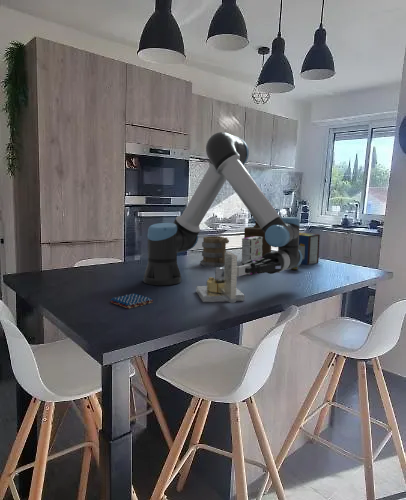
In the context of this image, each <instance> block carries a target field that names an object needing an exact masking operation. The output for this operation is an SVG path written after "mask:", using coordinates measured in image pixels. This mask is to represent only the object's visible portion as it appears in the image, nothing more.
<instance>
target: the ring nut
mask: <svg viewBox="0 0 406 500" xmlns="http://www.w3.org/2000/svg"><path fill="white" fill-rule="evenodd" d="M237 266H238V255H236V254H234V253H233V252H231V251H226V252H225V265H224V268H225V269H224V283H217V281H216V280H215V277H212V276H210V277H208V279H207V280H206V286H207V290H208V291H210V292H216V293H217V292H218V293H222V294H223V295H224V297H225V298H226V299H227V300H228V301H227V302H229V303H230V304H234V303H236V301H235V300H236V288H237V281H238V280H237V279H238V276H237Z"/></svg>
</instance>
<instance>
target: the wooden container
mask: <svg viewBox="0 0 406 500" xmlns="http://www.w3.org/2000/svg"><path fill="white" fill-rule="evenodd" d="M243 231H244V237H243V238H248V237H254V236H257V237H263V245H262V257H263V255H265V254H266V253H270V252H272V246H270V245H269V244H268V243H267V242H266V239H265V233H264V231H263V230H262V229H261V227H260V226H259V224H258V223H257V222H256V221H254V226H247V227H244V230H243Z"/></svg>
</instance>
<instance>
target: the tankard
mask: <svg viewBox="0 0 406 500" xmlns="http://www.w3.org/2000/svg"><path fill="white" fill-rule="evenodd" d="M229 242H230V240H229V239H228V237H223V236H216V235H215V236H213V235H212V236H211V235H209V236H203V241H202V242H201V247H202V249H203V250H202V252H201V256H202V257H203V258H202V259H201V260H200V265H201V266H204V267H214V268H216V267H225V252H227V248H226V247H227V246H226V245H227V244H229Z"/></svg>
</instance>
